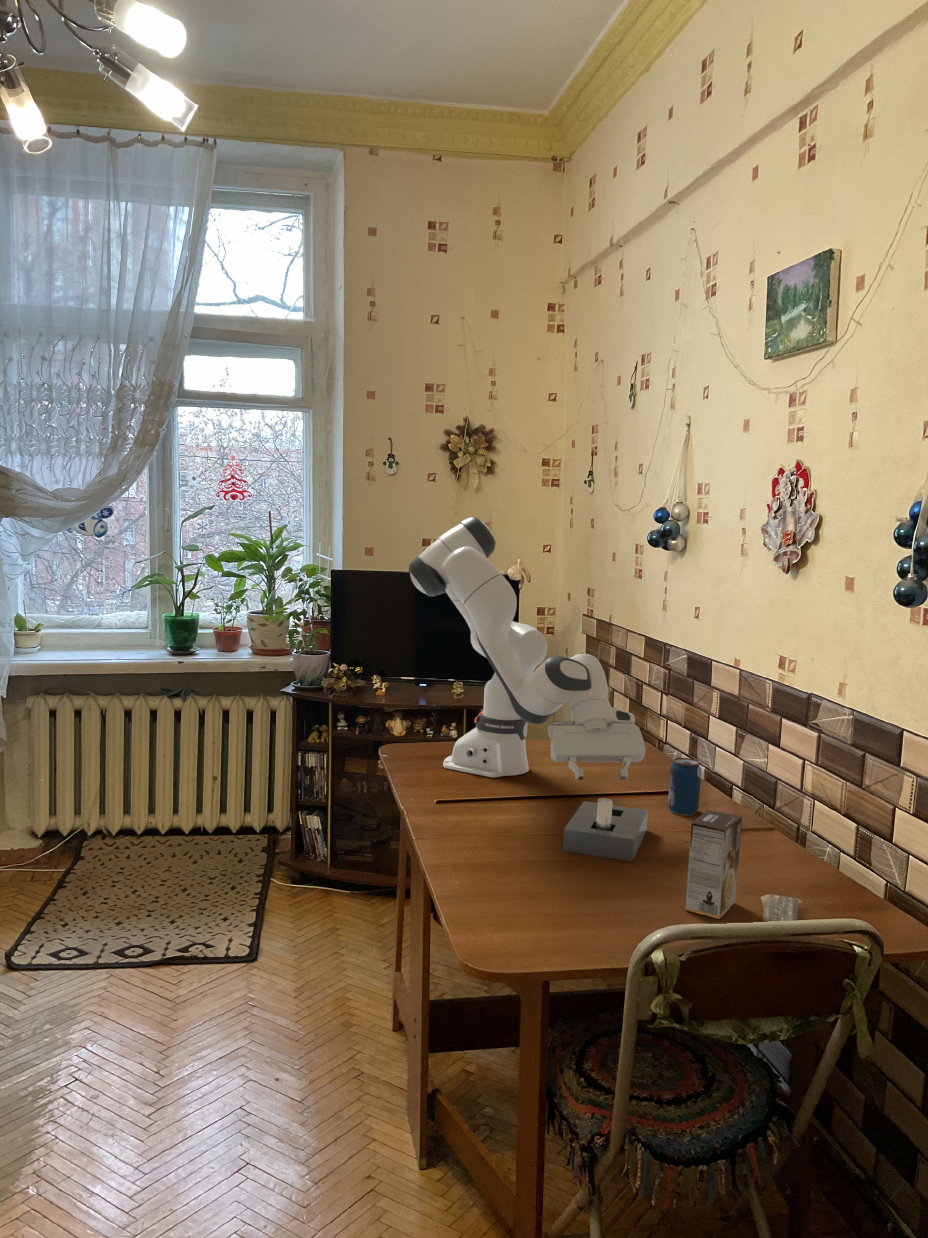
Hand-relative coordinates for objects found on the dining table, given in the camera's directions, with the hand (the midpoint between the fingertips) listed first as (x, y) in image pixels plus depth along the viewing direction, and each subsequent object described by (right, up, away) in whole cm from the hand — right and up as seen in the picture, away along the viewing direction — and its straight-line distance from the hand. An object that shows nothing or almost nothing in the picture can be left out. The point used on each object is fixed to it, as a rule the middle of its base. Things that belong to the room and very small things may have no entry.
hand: (602, 778), depth 198 cm
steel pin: (-1, -13, -6) cm, 14 cm away
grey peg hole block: (+1, -13, -1) cm, 13 cm away
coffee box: (+14, -17, -32) cm, 39 cm away
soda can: (+22, -11, +21) cm, 32 cm away
